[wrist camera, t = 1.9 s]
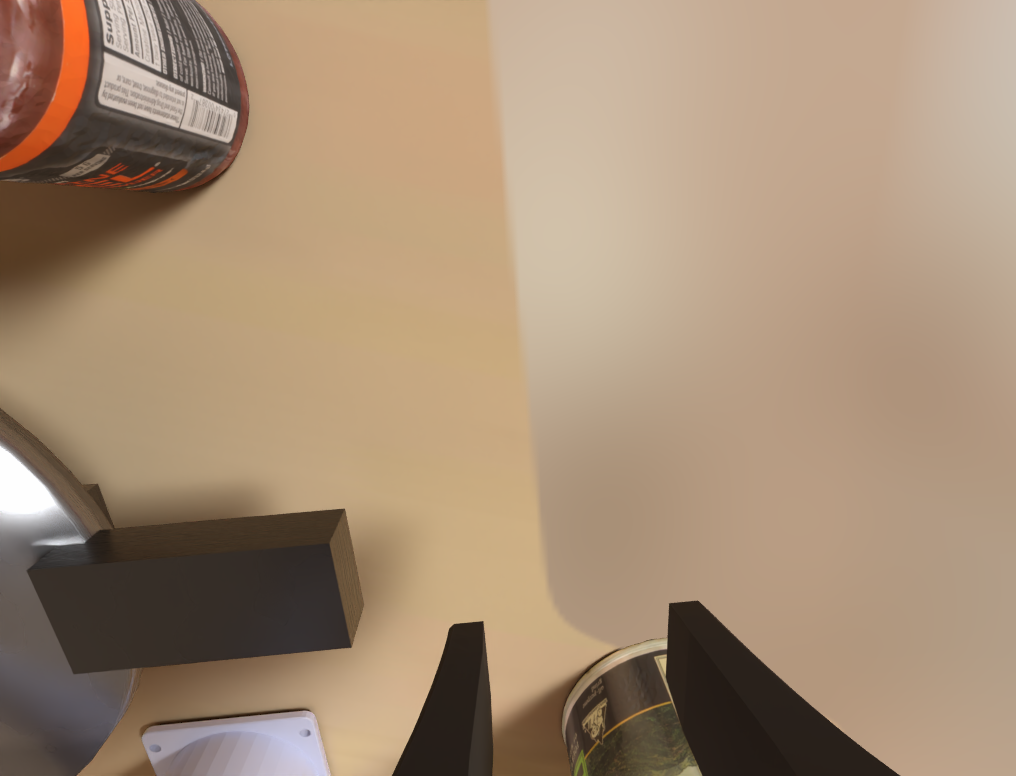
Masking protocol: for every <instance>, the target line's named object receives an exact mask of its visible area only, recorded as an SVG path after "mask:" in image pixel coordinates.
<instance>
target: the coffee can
mask: <svg viewBox="0 0 1016 776" xmlns="http://www.w3.org/2000/svg"><path fill="white" fill-rule="evenodd" d="M667 639H668V638H661V639H651V640H647V641H645V642H642V643H638V644H634V645H631V646H628V647H626V648H624V649H621V650H619V651H616V652H615V653H613V654H611V655H609V656H607V657H606V658H604V659H603V660H601V661H600V662H599V663H597V664H596V665H595V666H593V667H592V668H591V669H590V670H589V671H588V672H587V673H586V674H585V675H583V676H582V677H581V679H580V680H579V681H578V682H577V684H576V685H575V687H574V688H573V690H572V692H571V693H570V695H569V697H568V699H567V702H566V705H565V707H564V711H563V717H562V735H563V738H564V742H565V745H566V747H567V751H568V757H569V763H570V769H571V775H572V776H702V774H701V772H700V770H699V767H698V765H697V763H696V760H695V758H694V756H693V754H692V751H691V749H690V747H689V744H688V742H687V740H686V737H685V735H684V733H683V730H682V727H681V724H680V721H679V718H678V715H677V712H676V709H675V706H674V703H673V700H672V696H671V693H670V690H669V687H668V684H667V680H666V659H667Z"/></svg>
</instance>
